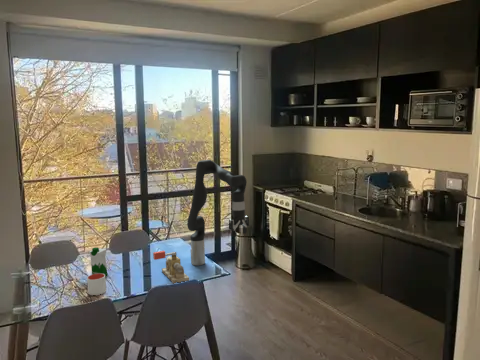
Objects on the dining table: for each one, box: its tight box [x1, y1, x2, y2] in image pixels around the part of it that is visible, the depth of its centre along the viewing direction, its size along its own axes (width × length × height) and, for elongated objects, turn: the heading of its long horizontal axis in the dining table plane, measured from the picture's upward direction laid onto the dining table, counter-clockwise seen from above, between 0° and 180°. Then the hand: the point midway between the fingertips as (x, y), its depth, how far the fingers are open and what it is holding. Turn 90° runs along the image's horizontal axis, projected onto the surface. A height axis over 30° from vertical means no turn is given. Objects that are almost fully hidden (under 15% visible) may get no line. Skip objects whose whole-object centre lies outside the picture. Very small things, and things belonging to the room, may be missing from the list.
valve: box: [161, 255, 190, 284], centre depth 264 cm, size 24×10×14 cm, turn 28°
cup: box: [86, 273, 107, 296], centre depth 241 cm, size 10×10×10 cm
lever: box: [152, 250, 177, 261], centre depth 260 cm, size 3×15×4 cm, turn 118°
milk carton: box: [88, 247, 109, 278], centre depth 265 cm, size 9×9×20 cm
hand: (239, 234), depth 249 cm, fingers open, 8 cm apart
